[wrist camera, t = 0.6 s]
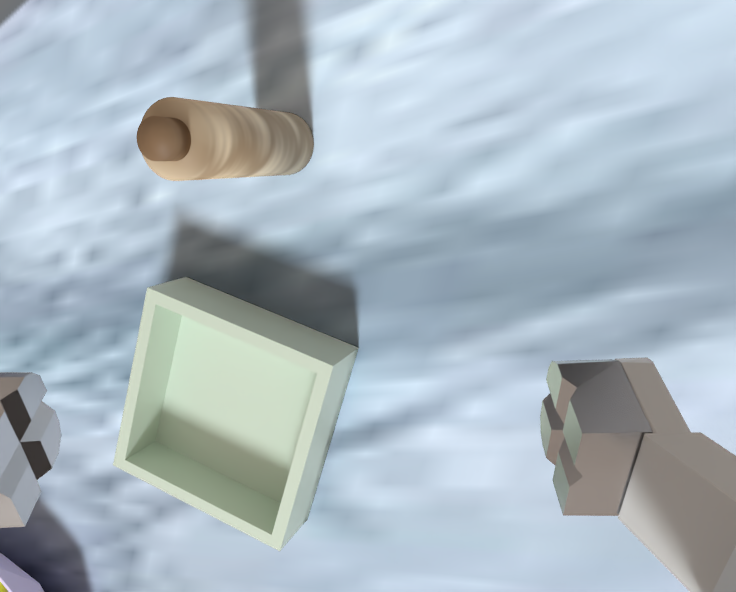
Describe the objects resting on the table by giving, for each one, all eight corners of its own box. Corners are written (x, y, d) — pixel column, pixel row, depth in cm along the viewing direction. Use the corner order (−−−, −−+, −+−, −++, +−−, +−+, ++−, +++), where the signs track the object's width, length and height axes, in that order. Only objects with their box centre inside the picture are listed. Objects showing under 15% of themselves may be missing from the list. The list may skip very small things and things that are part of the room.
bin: (186, 276, 57) (147, 287, 52) (358, 347, 52) (333, 366, 48) (151, 442, 61) (113, 465, 57) (307, 519, 57) (279, 551, 52)
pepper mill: (266, 104, 51) (128, 84, 37) (320, 122, 50) (199, 108, 36) (252, 164, 53) (114, 167, 38) (304, 182, 51) (182, 192, 37)
